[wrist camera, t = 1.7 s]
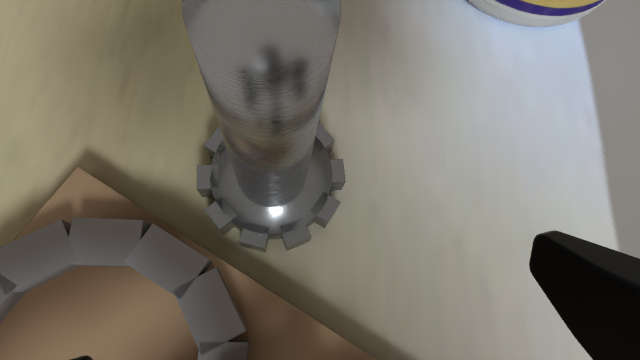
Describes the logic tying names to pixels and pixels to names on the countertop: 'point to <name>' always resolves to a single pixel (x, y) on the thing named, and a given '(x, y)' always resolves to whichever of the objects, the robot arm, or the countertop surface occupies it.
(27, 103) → the countertop surface
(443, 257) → the countertop surface
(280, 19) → the gear
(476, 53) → the countertop surface
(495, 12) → the supplement tub
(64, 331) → the gear board
